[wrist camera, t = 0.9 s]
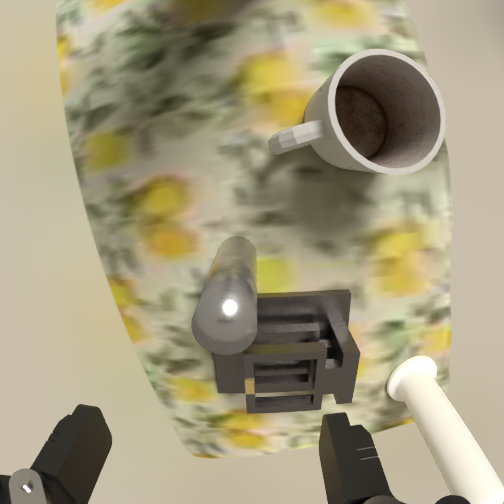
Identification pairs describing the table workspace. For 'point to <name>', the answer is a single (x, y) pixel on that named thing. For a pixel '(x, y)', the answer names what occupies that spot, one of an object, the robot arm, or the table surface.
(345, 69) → the mug
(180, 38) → the table surface
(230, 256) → the tube
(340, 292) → the bracket
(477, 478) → the candle
